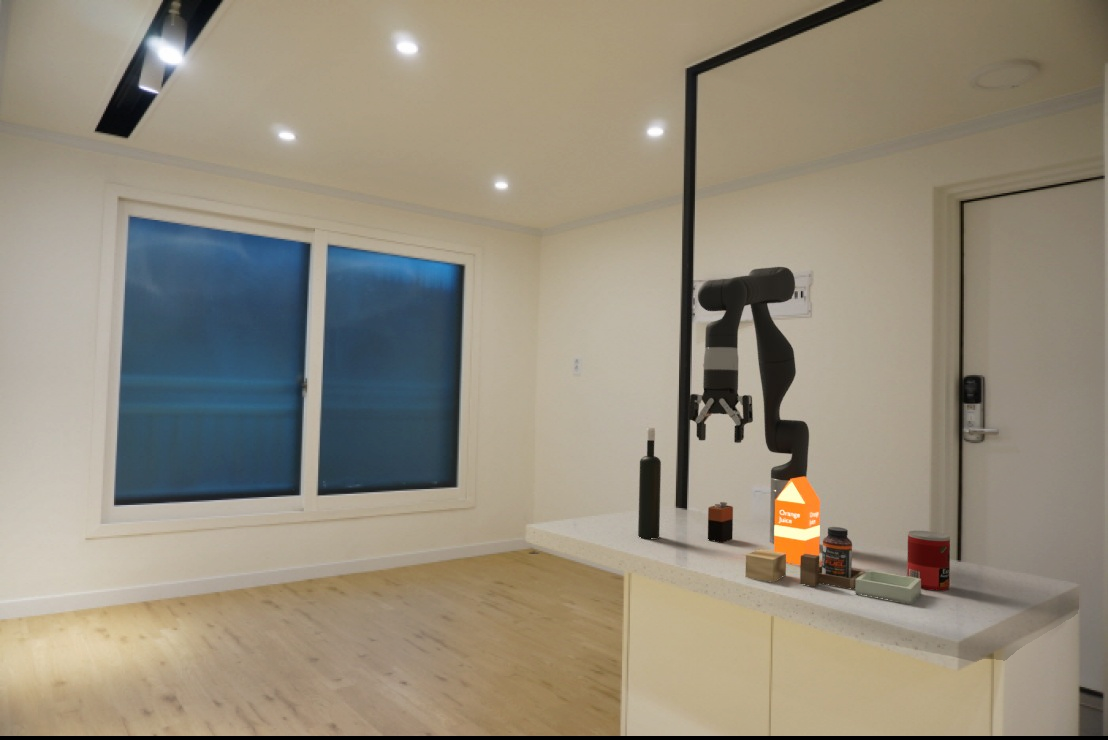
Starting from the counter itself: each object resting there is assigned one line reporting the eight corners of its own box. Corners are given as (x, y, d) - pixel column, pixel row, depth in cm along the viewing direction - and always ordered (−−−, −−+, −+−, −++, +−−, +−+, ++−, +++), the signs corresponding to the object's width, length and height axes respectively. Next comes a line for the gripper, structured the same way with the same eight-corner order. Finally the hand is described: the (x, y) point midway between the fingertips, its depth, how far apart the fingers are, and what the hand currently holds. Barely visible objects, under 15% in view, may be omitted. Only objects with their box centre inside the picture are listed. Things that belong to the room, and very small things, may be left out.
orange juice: (773, 560, 169) (774, 477, 170) (789, 554, 175) (790, 474, 176) (804, 566, 164) (806, 480, 164) (820, 560, 170) (821, 478, 171)
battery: (733, 539, 193) (733, 503, 193) (721, 543, 187) (722, 505, 188) (718, 537, 195) (719, 501, 196) (706, 540, 190) (707, 503, 191)
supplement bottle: (821, 582, 150) (822, 529, 150) (821, 576, 155) (822, 524, 156) (852, 586, 148) (852, 532, 148) (850, 579, 153) (851, 527, 153)
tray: (868, 584, 149) (868, 570, 149) (920, 593, 143) (921, 578, 143) (855, 594, 141) (855, 579, 141) (910, 604, 135) (910, 588, 135)
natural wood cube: (759, 571, 159) (759, 549, 159) (785, 576, 155) (786, 553, 155) (745, 578, 152) (745, 554, 153) (772, 583, 149) (772, 559, 149)
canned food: (948, 593, 144) (949, 539, 144) (905, 586, 148) (906, 534, 149) (950, 585, 151) (950, 533, 151) (909, 579, 155) (909, 528, 155)
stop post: (804, 581, 150) (805, 553, 150) (819, 584, 148) (819, 555, 148) (800, 584, 148) (800, 555, 148) (814, 587, 146) (814, 558, 146)
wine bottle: (644, 534, 197) (646, 427, 198) (662, 537, 193) (665, 428, 194) (634, 537, 192) (636, 427, 193) (653, 540, 189) (655, 428, 190)
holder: (821, 572, 158) (821, 564, 158) (865, 580, 152) (865, 571, 152) (807, 581, 151) (807, 571, 151) (853, 589, 145) (853, 579, 145)
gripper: (758, 369, 155) (757, 442, 154) (699, 369, 163) (697, 438, 163) (744, 367, 149) (743, 444, 148) (684, 367, 157) (682, 440, 157)
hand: (719, 441), depth 156 cm, fingers open, 8 cm apart
